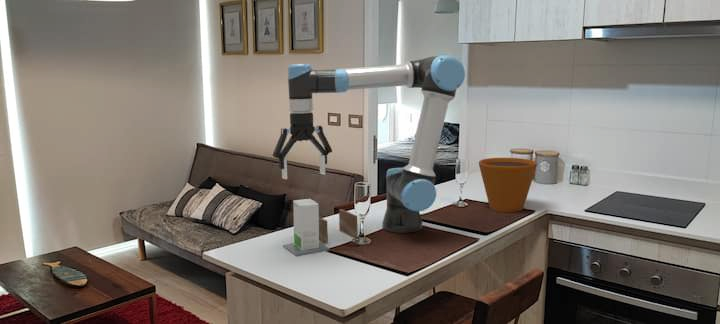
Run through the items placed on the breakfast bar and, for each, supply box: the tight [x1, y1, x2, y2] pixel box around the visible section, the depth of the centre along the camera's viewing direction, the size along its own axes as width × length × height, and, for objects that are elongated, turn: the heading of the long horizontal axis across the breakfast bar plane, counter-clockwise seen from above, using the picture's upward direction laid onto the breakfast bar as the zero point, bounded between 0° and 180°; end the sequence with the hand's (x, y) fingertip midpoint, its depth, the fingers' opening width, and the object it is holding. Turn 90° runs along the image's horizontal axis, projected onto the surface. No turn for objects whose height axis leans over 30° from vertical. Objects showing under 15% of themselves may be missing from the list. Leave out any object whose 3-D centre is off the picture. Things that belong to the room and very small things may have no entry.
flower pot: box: [478, 157, 538, 213], centre depth 229 cm, size 24×24×20 cm
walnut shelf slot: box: [319, 208, 359, 245], centre depth 194 cm, size 13×12×8 cm
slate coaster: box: [282, 241, 331, 257], centre depth 181 cm, size 12×12×1 cm
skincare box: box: [292, 198, 320, 251], centre depth 180 cm, size 8×7×16 cm
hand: (304, 176), depth 178 cm, fingers open, 13 cm apart
